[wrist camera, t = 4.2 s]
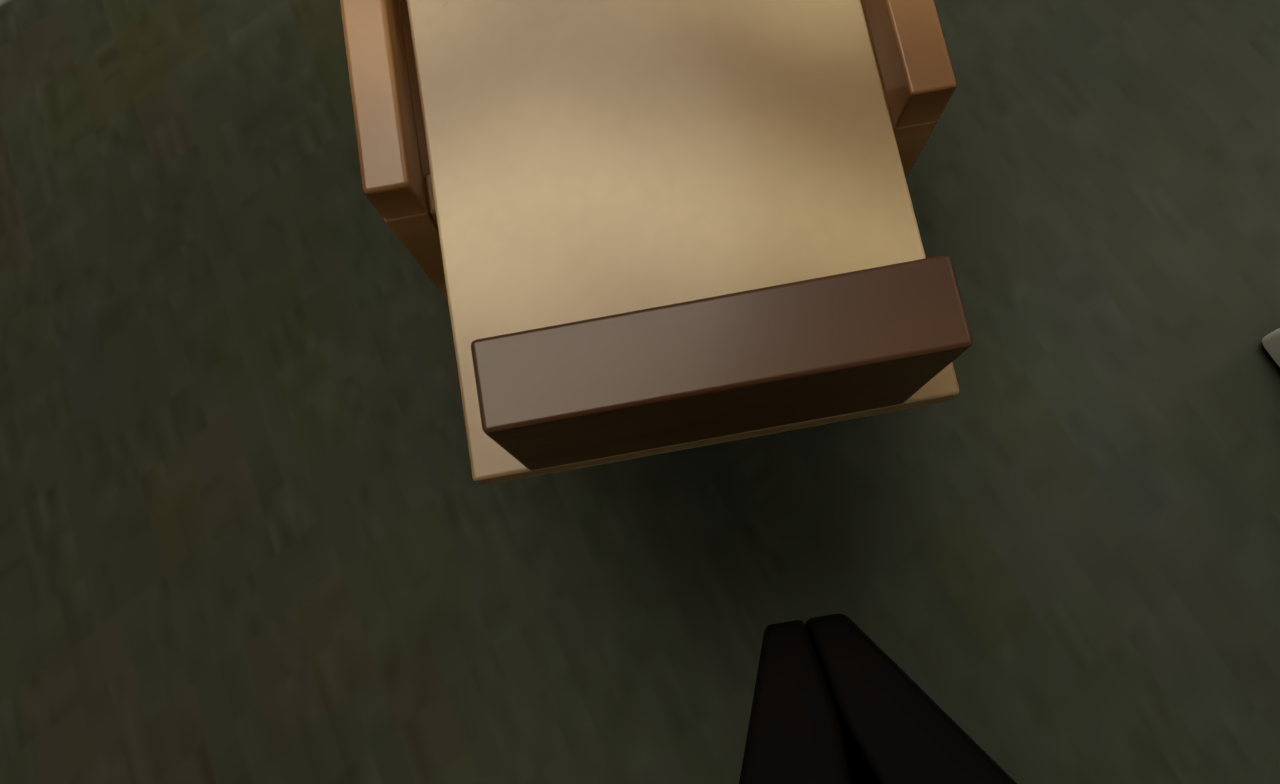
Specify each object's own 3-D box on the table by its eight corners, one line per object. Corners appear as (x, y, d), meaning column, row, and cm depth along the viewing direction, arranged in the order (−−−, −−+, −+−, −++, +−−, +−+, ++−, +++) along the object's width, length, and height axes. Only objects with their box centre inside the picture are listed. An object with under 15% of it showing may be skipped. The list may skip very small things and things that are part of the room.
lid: (949, 402, 16) (1049, 331, 11) (481, 487, 16) (408, 447, 11) (797, -206, 18) (832, -447, 14) (394, -132, 18) (309, -351, 14)
